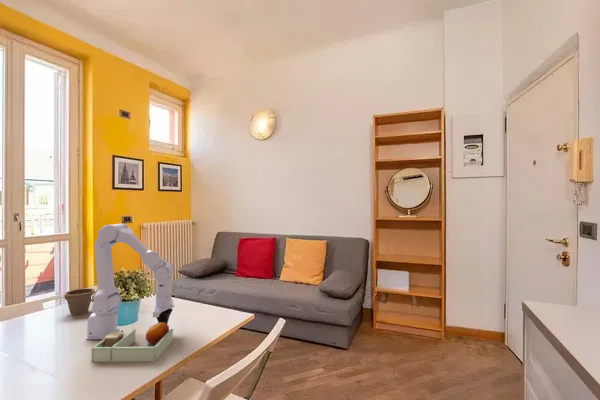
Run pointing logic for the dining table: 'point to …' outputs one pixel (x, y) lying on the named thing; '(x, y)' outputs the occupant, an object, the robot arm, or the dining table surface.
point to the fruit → (157, 332)
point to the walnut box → (113, 338)
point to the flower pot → (79, 300)
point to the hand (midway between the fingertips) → (163, 328)
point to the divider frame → (129, 349)
